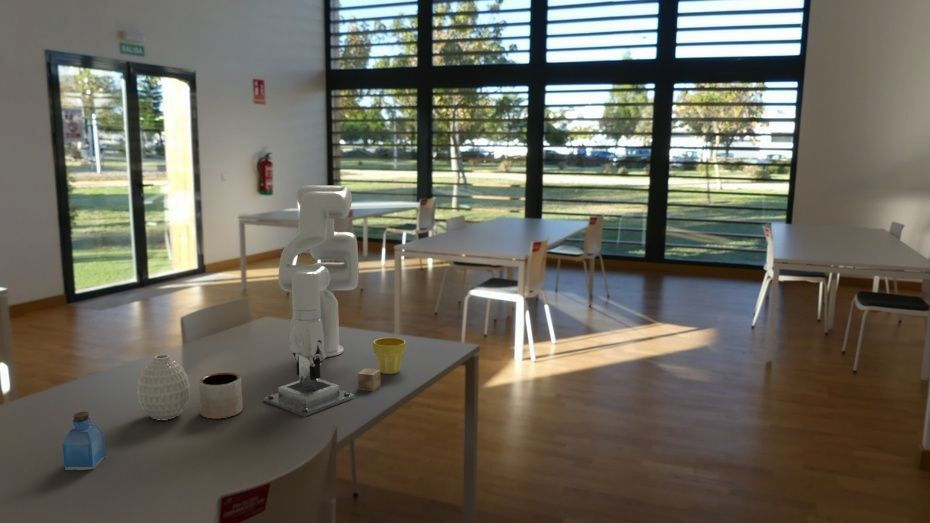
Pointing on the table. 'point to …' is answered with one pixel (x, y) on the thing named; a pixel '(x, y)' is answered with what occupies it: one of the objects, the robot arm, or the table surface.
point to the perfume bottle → (83, 443)
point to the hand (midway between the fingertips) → (308, 375)
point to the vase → (163, 388)
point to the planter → (220, 395)
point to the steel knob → (305, 371)
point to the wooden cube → (369, 379)
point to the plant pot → (389, 354)
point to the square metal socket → (308, 397)
